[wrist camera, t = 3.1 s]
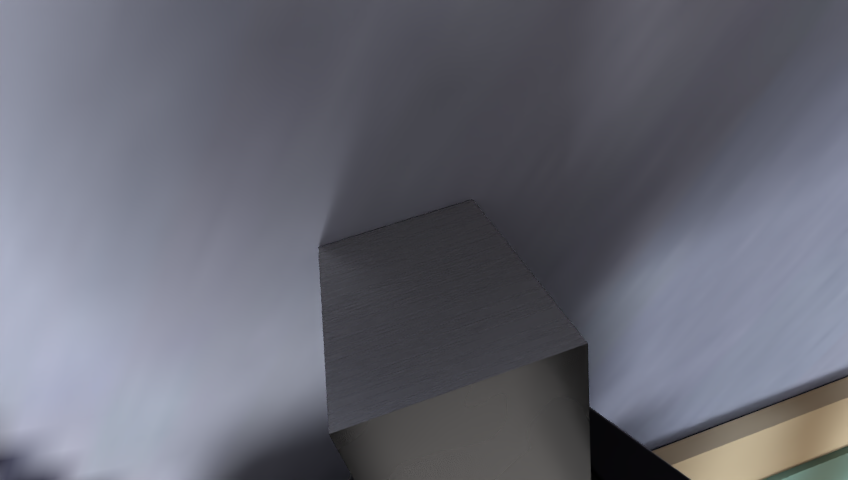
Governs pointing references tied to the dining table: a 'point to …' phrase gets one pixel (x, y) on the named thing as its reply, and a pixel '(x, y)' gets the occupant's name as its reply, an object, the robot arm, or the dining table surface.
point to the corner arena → (773, 442)
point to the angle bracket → (449, 357)
